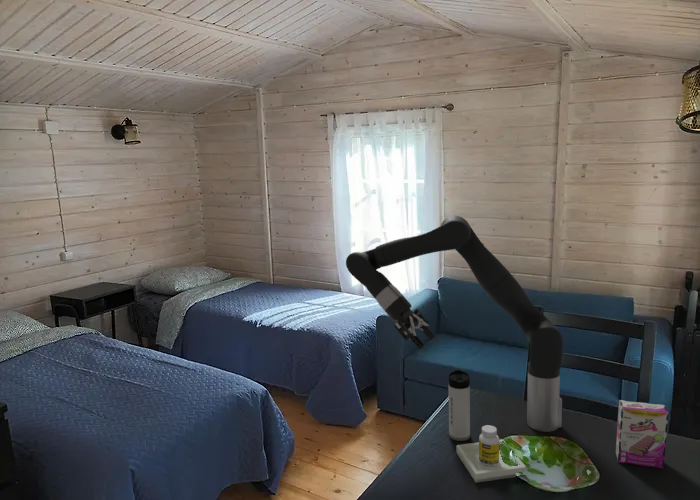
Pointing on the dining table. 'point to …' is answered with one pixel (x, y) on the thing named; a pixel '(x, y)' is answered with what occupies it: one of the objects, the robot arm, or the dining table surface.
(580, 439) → the dining table surface
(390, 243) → the robot arm
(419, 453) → the dining table surface
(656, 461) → the candy bar box
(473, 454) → the tray
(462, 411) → the travel mug
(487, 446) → the supplement bottle
